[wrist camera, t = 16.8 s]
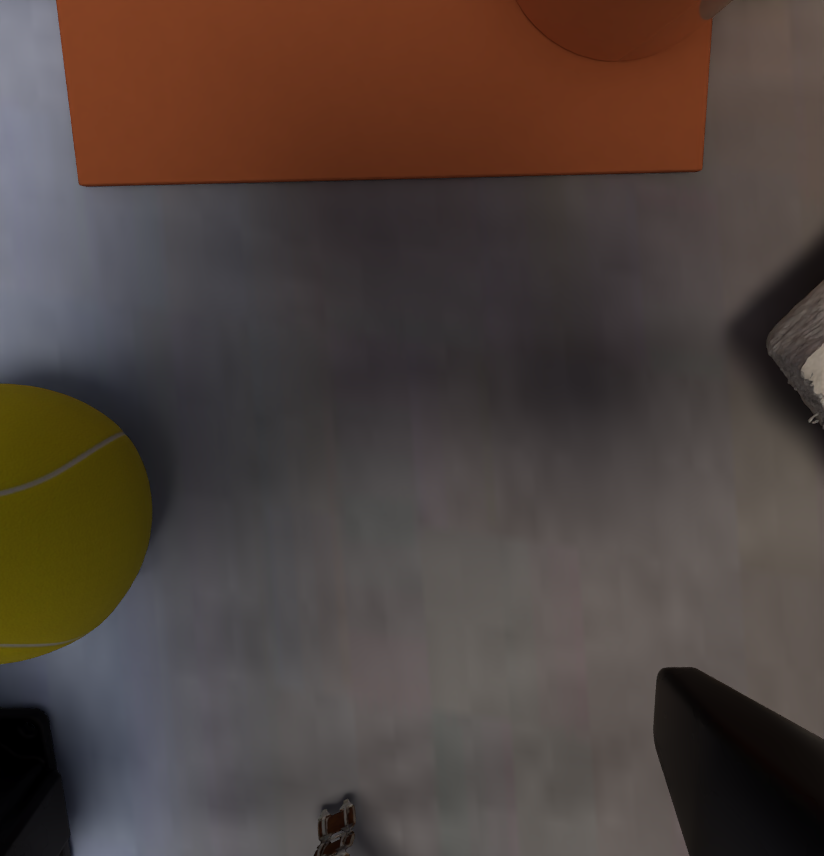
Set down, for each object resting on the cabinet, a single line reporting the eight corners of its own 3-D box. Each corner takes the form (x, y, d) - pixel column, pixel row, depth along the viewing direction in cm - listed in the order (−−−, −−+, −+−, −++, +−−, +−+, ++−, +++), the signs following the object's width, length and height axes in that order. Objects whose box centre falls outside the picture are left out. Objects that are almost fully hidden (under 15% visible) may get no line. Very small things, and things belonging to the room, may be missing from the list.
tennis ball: (-44, 350, 21) (-272, 391, 14) (194, 384, 21) (86, 442, 14) (-44, 569, 22) (-249, 703, 15) (177, 598, 22) (72, 745, 15)
